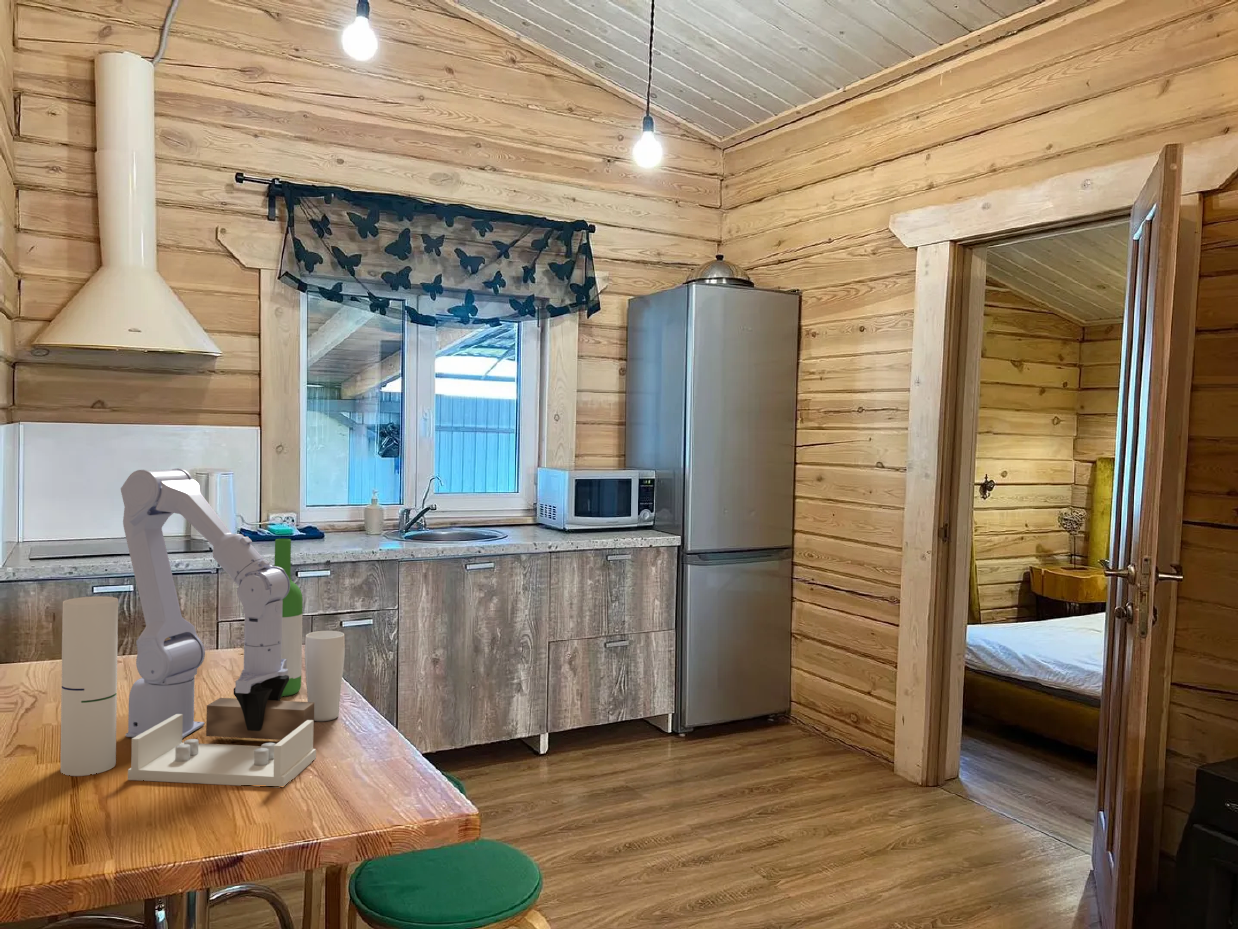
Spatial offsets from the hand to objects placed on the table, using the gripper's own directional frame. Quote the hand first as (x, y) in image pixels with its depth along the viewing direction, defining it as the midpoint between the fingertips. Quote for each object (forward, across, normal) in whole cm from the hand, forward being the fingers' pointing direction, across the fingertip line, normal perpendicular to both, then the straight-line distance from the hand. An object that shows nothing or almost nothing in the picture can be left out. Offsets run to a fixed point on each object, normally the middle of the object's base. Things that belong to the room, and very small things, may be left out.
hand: (261, 725), depth 149 cm
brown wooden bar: (+2, 0, 0) cm, 2 cm away
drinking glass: (+3, +14, -5) cm, 15 cm away
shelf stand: (+3, -12, 0) cm, 12 cm away
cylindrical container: (+3, -14, +20) cm, 25 cm away
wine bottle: (+3, +28, +9) cm, 30 cm away
